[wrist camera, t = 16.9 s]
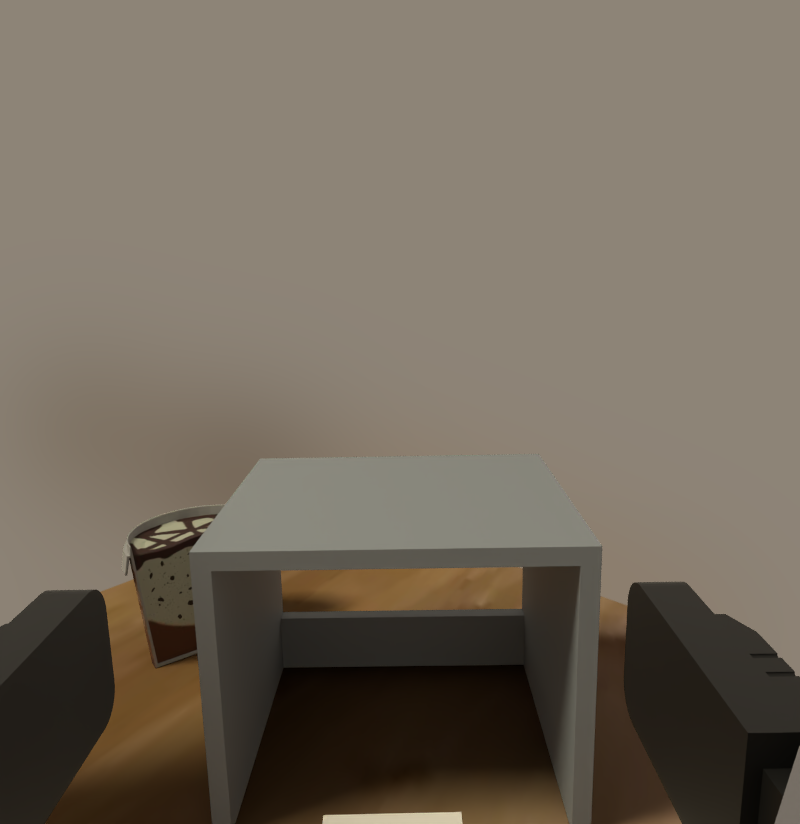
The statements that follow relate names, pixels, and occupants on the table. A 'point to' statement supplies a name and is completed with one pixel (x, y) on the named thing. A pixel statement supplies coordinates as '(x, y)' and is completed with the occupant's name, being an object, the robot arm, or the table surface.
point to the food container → (167, 578)
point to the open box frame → (396, 630)
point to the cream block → (395, 818)
